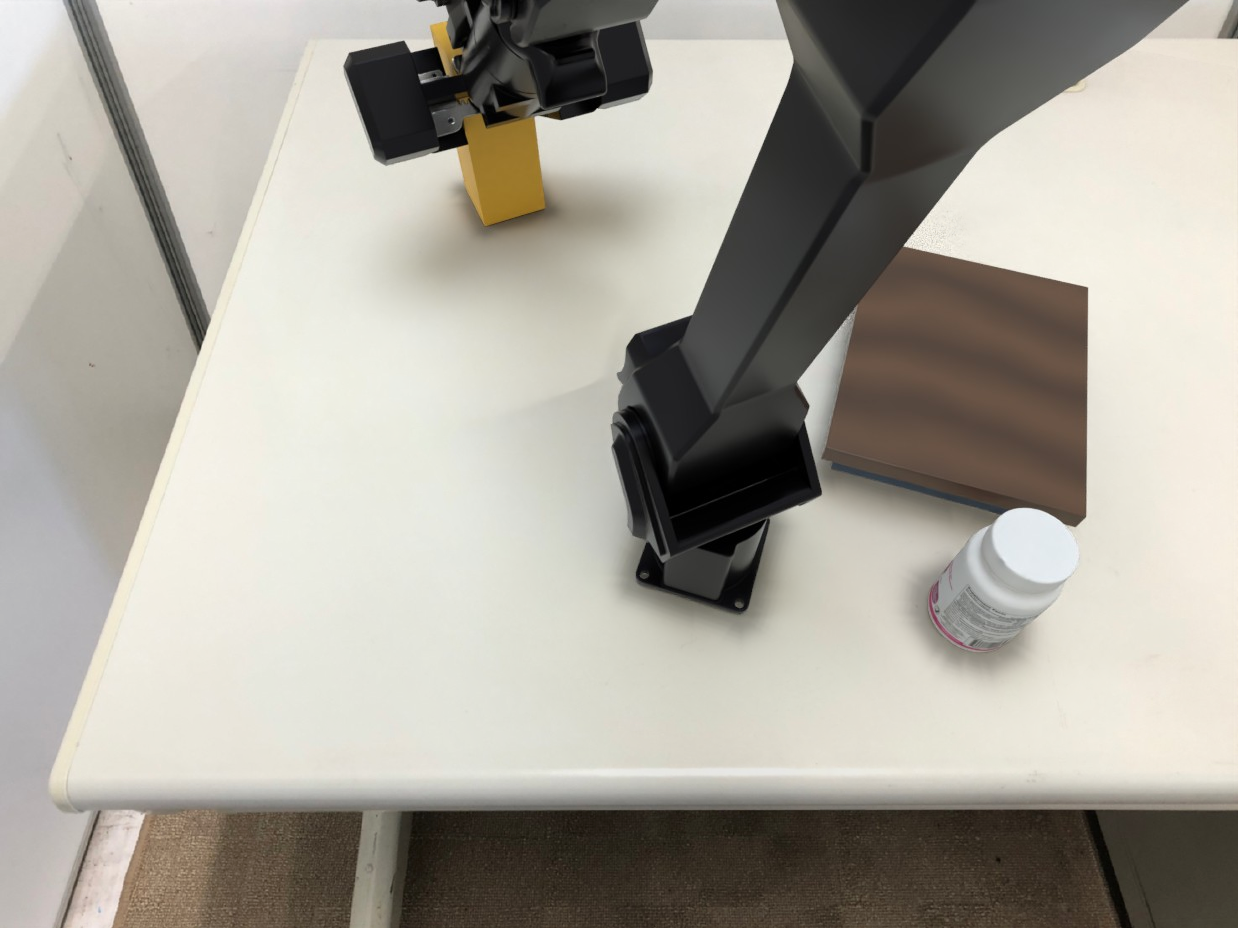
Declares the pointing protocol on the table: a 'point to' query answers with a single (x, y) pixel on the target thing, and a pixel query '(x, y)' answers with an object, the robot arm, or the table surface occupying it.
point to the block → (496, 156)
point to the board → (967, 386)
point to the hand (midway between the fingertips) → (486, 112)
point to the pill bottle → (1003, 579)
